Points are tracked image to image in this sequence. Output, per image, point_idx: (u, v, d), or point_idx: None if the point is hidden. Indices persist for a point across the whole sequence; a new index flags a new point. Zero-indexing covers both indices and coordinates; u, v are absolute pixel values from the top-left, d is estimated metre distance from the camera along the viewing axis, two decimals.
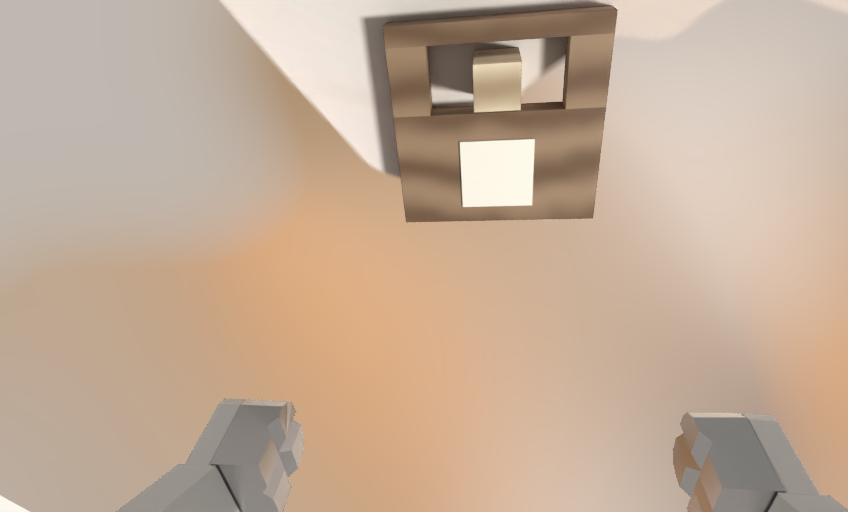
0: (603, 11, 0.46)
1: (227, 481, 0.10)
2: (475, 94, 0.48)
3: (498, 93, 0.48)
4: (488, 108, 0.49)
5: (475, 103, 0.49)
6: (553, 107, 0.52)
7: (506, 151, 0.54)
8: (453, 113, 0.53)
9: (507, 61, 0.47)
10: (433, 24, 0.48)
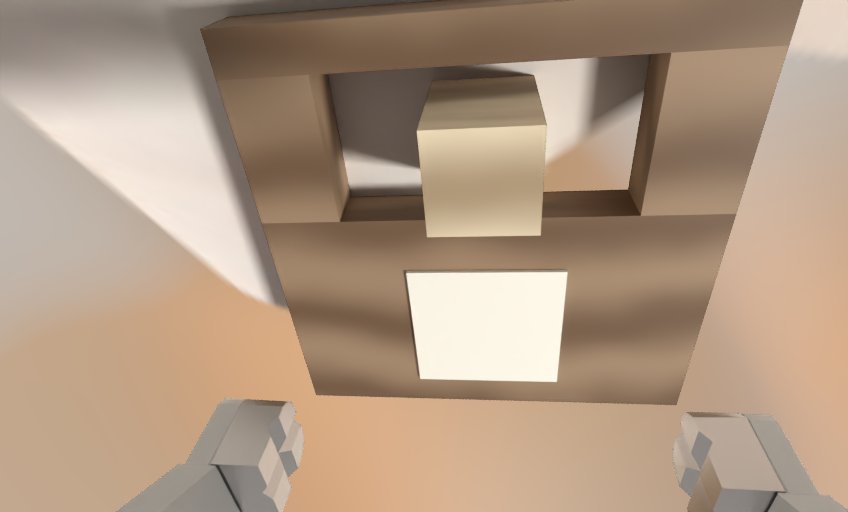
0: None
1: (227, 481, 0.10)
2: (428, 199, 0.19)
3: (484, 198, 0.19)
4: (462, 229, 0.20)
5: (429, 218, 0.20)
6: (611, 208, 0.23)
7: (505, 292, 0.26)
8: (390, 216, 0.24)
9: (508, 121, 0.18)
10: (322, 22, 0.19)
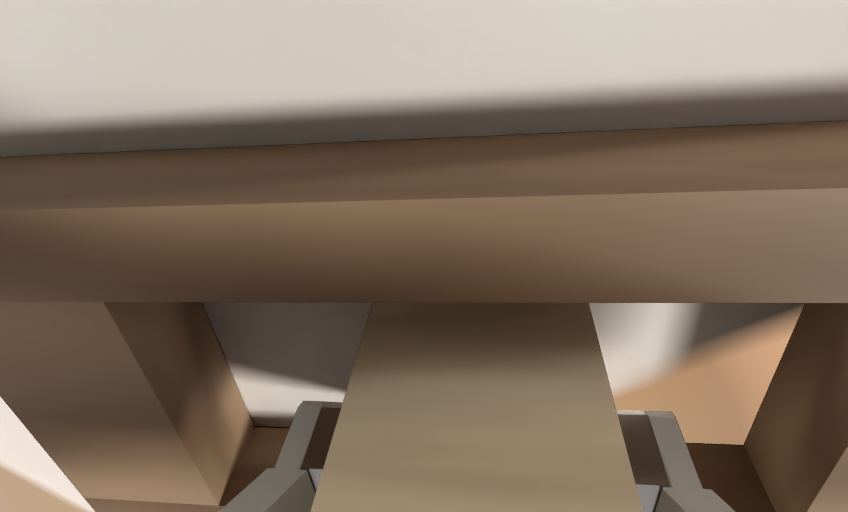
0: None
1: (316, 486, 0.09)
2: None
3: None
4: None
5: None
6: None
7: None
8: None
9: None
10: (106, 212, 0.08)
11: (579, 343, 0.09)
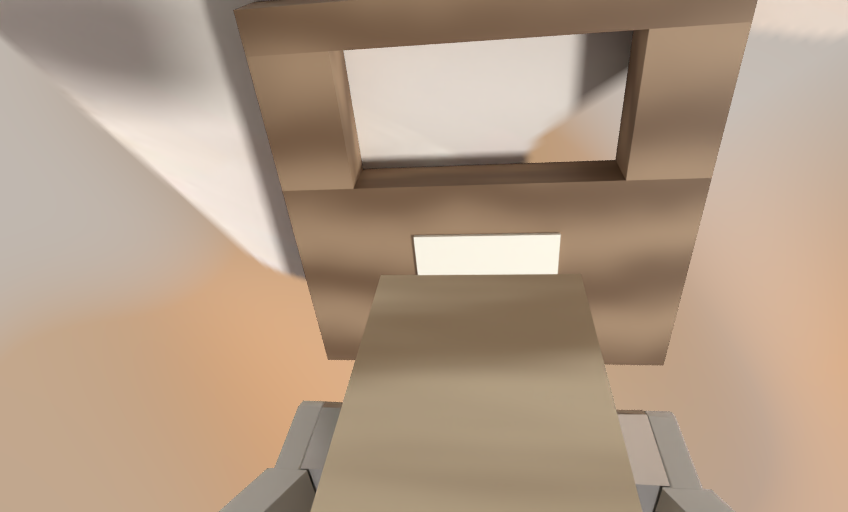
0: None
1: (316, 486, 0.09)
2: None
3: None
4: None
5: None
6: (600, 174, 0.26)
7: (504, 255, 0.28)
8: (399, 183, 0.27)
9: None
10: (341, 3, 0.22)
11: (579, 343, 0.09)
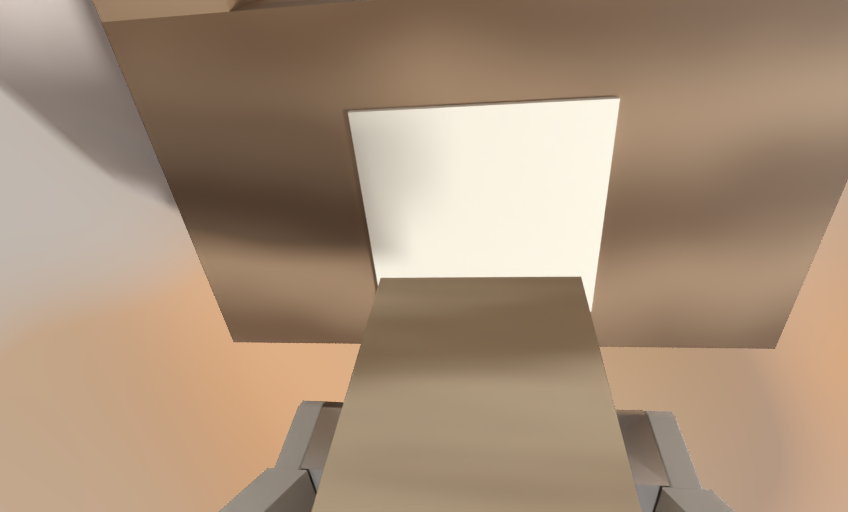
0: None
1: (316, 486, 0.09)
2: None
3: None
4: None
5: None
6: None
7: (513, 145, 0.15)
8: (316, 2, 0.14)
9: None
10: None
11: (579, 346, 0.09)
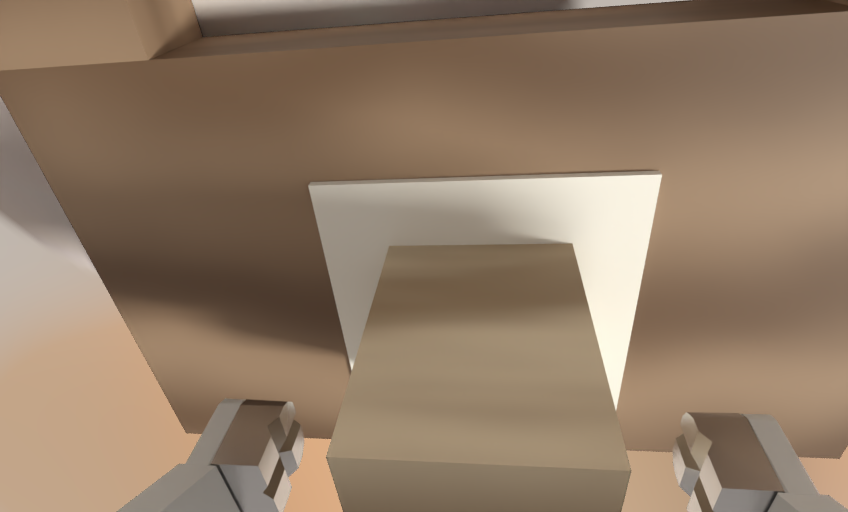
0: None
1: (227, 481, 0.10)
2: None
3: None
4: None
5: None
6: (778, 8, 0.10)
7: (521, 227, 0.12)
8: (263, 48, 0.11)
9: (536, 434, 0.08)
10: None
11: (569, 300, 0.10)
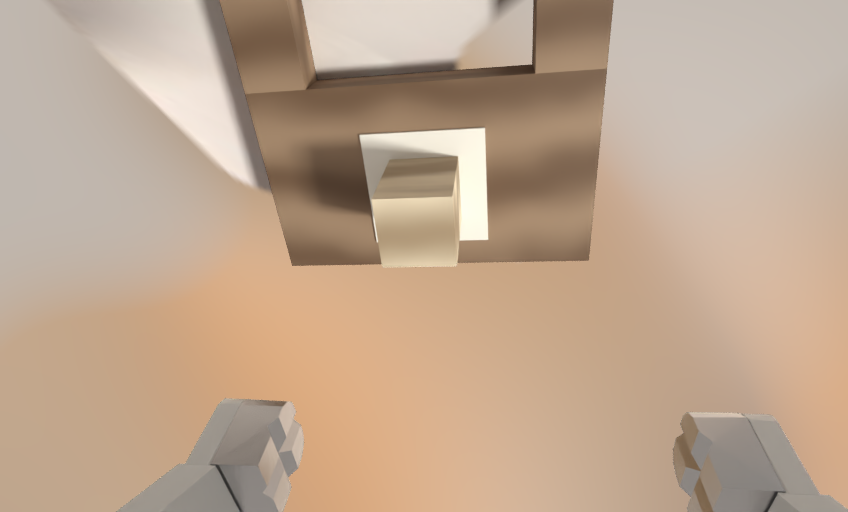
0: None
1: (227, 481, 0.10)
2: (381, 242, 0.29)
3: (417, 241, 0.29)
4: (405, 262, 0.30)
5: (382, 254, 0.30)
6: (515, 72, 0.30)
7: (438, 150, 0.32)
8: (345, 85, 0.31)
9: (430, 193, 0.28)
10: None
11: (450, 169, 0.30)
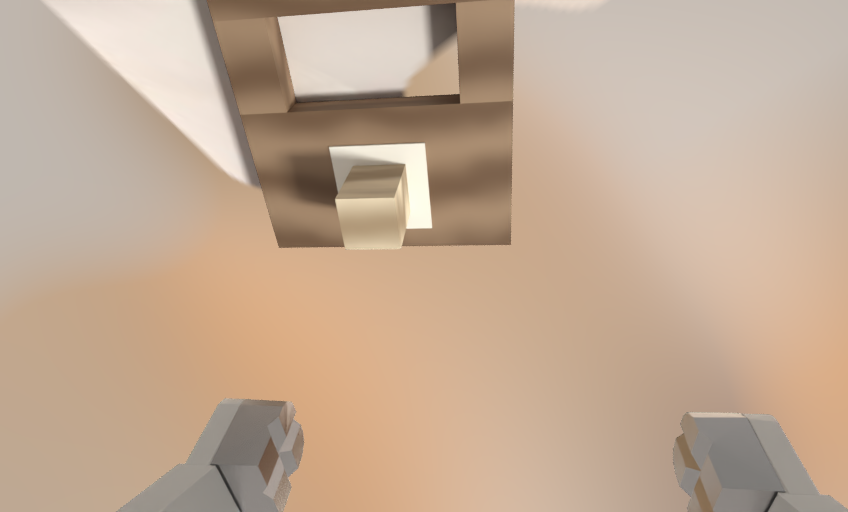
0: None
1: (227, 481, 0.10)
2: (343, 230, 0.39)
3: (370, 230, 0.38)
4: (362, 245, 0.39)
5: (345, 240, 0.39)
6: (446, 101, 0.39)
7: (390, 159, 0.41)
8: (317, 109, 0.40)
9: (378, 194, 0.37)
10: None
11: (397, 175, 0.40)
